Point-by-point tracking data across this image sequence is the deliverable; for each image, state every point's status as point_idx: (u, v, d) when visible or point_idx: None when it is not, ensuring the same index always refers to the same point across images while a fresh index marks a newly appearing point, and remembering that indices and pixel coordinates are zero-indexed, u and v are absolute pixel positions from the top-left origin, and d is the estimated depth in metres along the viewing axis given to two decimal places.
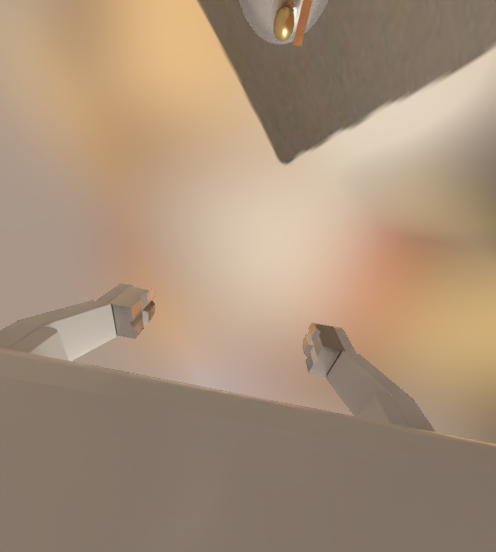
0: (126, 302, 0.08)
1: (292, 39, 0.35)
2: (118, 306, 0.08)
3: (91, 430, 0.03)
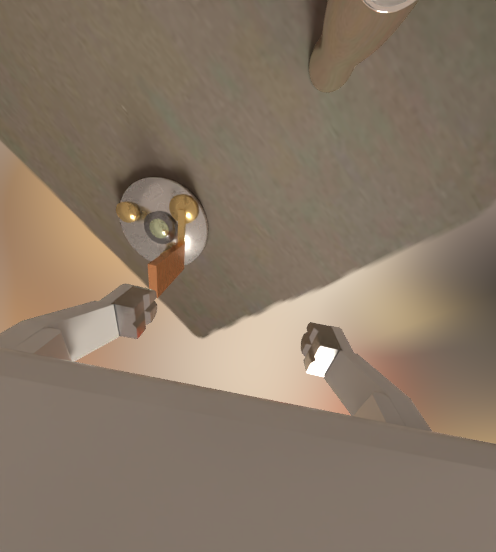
0: (129, 302, 0.08)
1: None
2: (121, 306, 0.08)
3: (91, 430, 0.03)
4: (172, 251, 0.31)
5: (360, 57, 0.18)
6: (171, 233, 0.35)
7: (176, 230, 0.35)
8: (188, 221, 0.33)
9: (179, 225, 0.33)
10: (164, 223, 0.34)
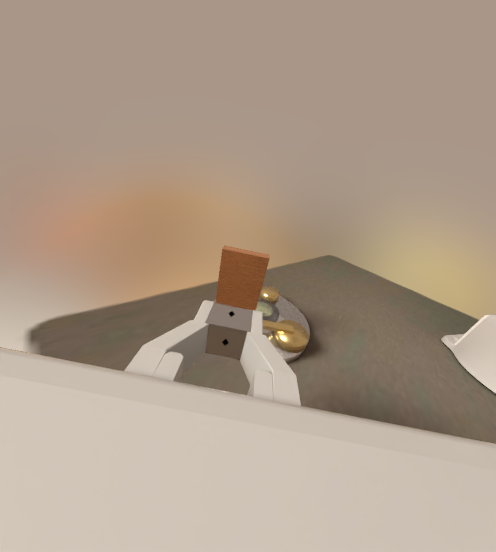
0: (220, 321, 0.08)
1: None
2: (214, 325, 0.08)
3: (91, 430, 0.03)
4: (258, 297, 0.24)
5: None
6: None
7: None
8: (280, 334, 0.26)
9: (274, 323, 0.27)
10: (269, 314, 0.30)
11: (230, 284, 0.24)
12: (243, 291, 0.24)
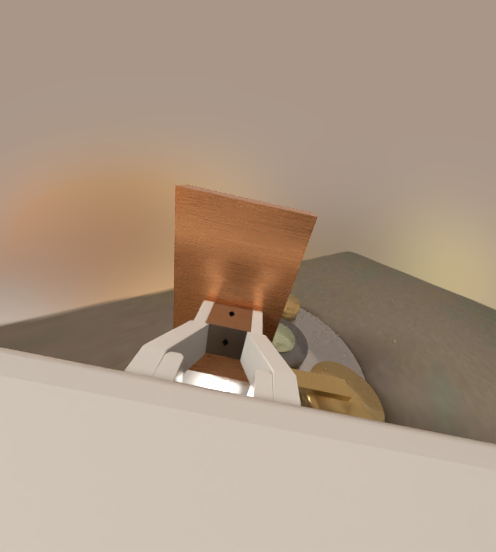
0: (220, 321, 0.08)
1: None
2: (214, 325, 0.08)
3: (91, 430, 0.03)
4: None
5: None
6: None
7: None
8: (323, 404, 0.12)
9: (307, 375, 0.13)
10: (289, 346, 0.16)
11: (205, 292, 0.09)
12: None
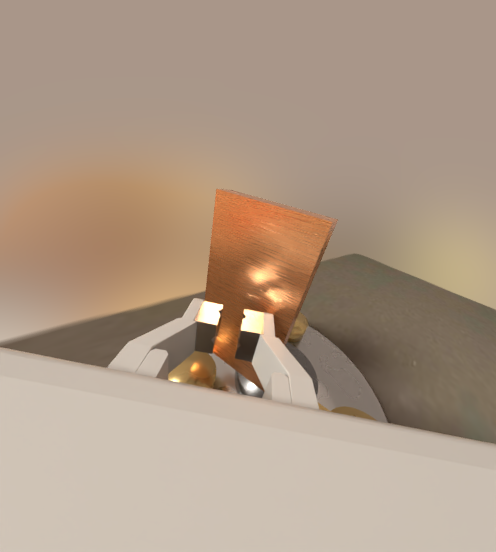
0: (209, 319, 0.08)
1: None
2: (202, 323, 0.08)
3: (91, 430, 0.03)
4: (288, 333, 0.10)
5: None
6: None
7: None
8: None
9: None
10: None
11: (228, 282, 0.10)
12: (253, 306, 0.10)
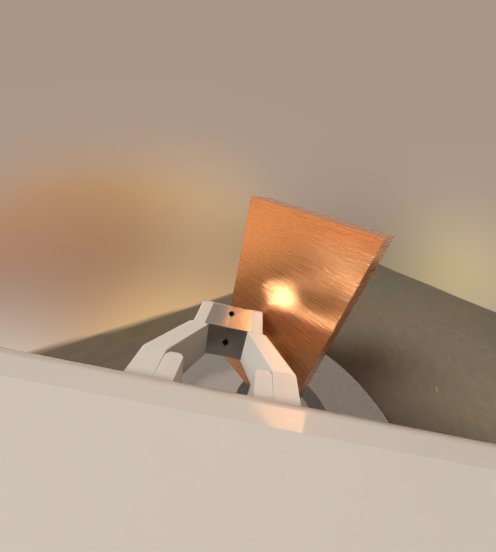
0: (220, 321, 0.08)
1: None
2: (214, 325, 0.08)
3: (91, 430, 0.03)
4: (314, 366, 0.08)
5: None
6: None
7: None
8: None
9: None
10: None
11: (254, 295, 0.10)
12: (277, 326, 0.09)
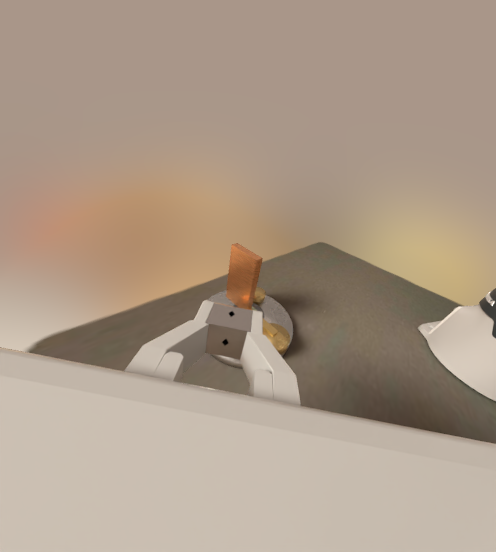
0: (220, 321, 0.08)
1: None
2: (214, 325, 0.08)
3: (91, 430, 0.03)
4: (251, 291, 0.29)
5: None
6: None
7: None
8: None
9: (264, 321, 0.30)
10: None
11: (235, 273, 0.31)
12: (241, 281, 0.30)
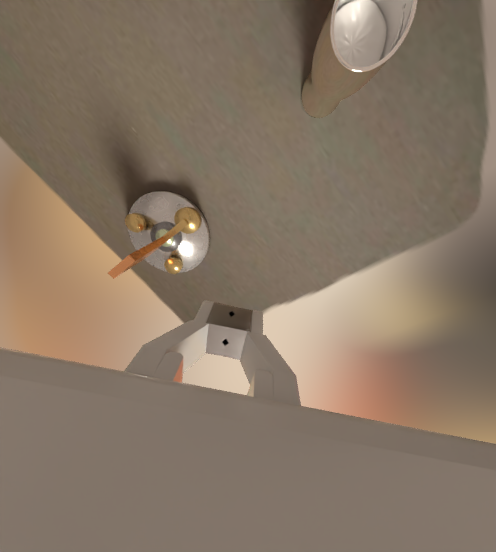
0: (220, 321, 0.08)
1: (184, 271, 0.42)
2: (214, 325, 0.08)
3: (91, 430, 0.03)
4: (154, 247, 0.33)
5: (343, 97, 0.21)
6: (175, 242, 0.38)
7: (180, 239, 0.38)
8: (183, 231, 0.36)
9: (174, 228, 0.36)
10: None
11: (137, 262, 0.33)
12: (145, 256, 0.33)
